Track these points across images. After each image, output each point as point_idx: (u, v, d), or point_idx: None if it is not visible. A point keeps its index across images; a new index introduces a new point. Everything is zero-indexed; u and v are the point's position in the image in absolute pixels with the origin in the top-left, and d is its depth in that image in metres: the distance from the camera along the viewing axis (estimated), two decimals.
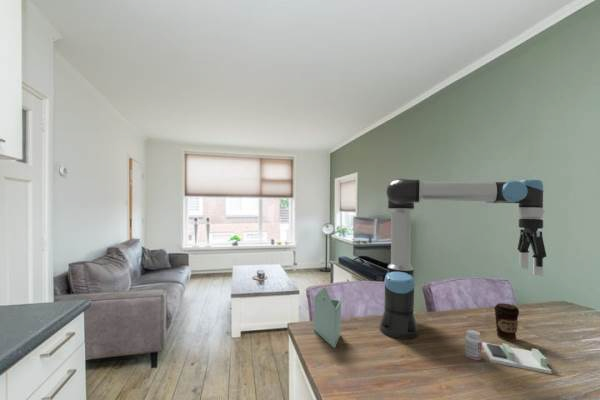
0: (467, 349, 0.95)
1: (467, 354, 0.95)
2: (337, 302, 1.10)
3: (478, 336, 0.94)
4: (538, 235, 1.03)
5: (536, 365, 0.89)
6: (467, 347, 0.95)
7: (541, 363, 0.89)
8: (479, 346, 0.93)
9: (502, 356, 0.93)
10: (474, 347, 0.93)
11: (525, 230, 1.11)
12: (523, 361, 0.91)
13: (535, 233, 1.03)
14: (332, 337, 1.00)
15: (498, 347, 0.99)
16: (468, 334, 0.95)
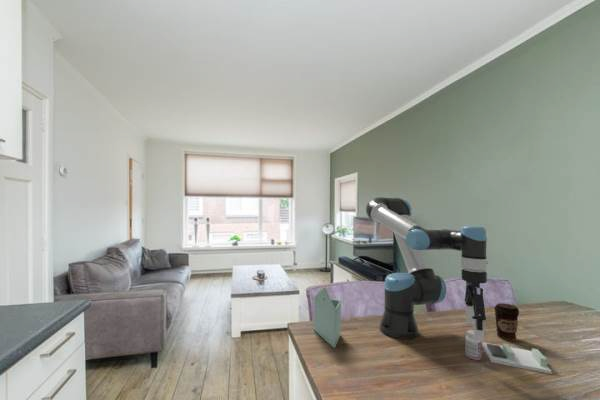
0: (467, 349, 0.95)
1: (467, 354, 0.95)
2: (337, 302, 1.10)
3: None
4: (478, 293, 0.90)
5: (536, 365, 0.89)
6: (467, 347, 0.95)
7: (541, 363, 0.89)
8: (479, 346, 0.93)
9: (502, 356, 0.93)
10: (474, 347, 0.93)
11: (469, 282, 0.98)
12: (523, 361, 0.91)
13: (475, 290, 0.90)
14: (332, 337, 1.00)
15: (498, 347, 0.99)
16: (468, 334, 0.95)
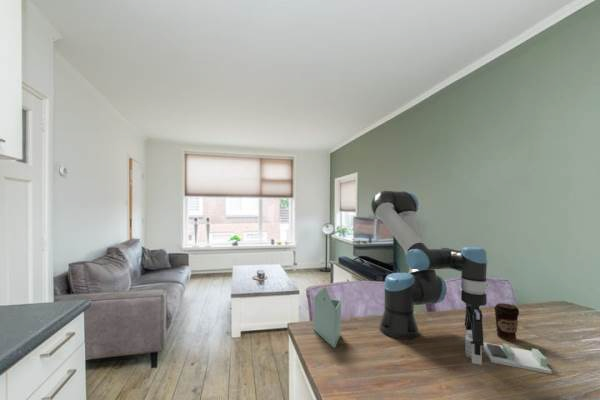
0: (467, 349, 0.95)
1: (467, 354, 0.95)
2: (337, 302, 1.10)
3: None
4: (478, 318, 0.90)
5: (536, 365, 0.89)
6: (467, 347, 0.95)
7: (541, 363, 0.89)
8: None
9: (502, 356, 0.93)
10: None
11: None
12: (523, 361, 0.91)
13: (475, 316, 0.90)
14: (332, 337, 1.00)
15: (498, 347, 0.99)
16: (468, 334, 0.95)
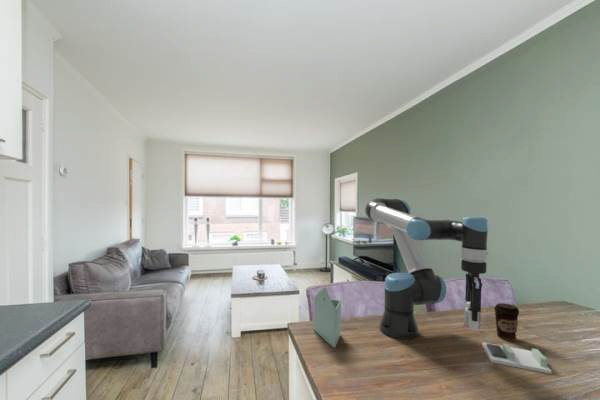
0: (466, 320, 0.96)
1: (466, 325, 0.96)
2: (337, 302, 1.10)
3: None
4: (477, 287, 0.91)
5: (536, 365, 0.89)
6: (466, 318, 0.96)
7: (541, 363, 0.89)
8: None
9: (502, 356, 0.93)
10: None
11: None
12: (523, 361, 0.91)
13: (474, 285, 0.91)
14: (332, 337, 1.00)
15: (498, 347, 0.99)
16: (467, 305, 0.96)
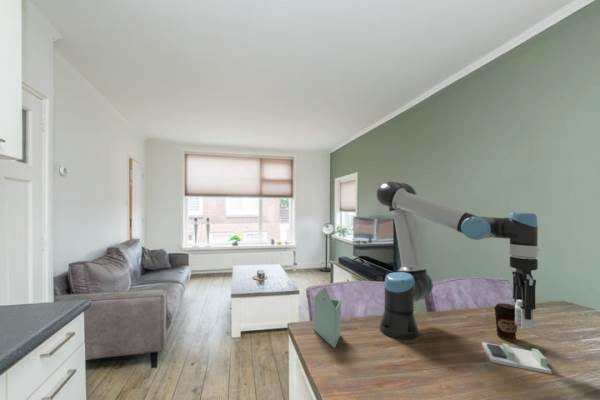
0: (518, 318, 0.93)
1: (518, 323, 0.93)
2: (337, 302, 1.10)
3: None
4: (531, 284, 0.88)
5: (536, 365, 0.89)
6: (518, 316, 0.93)
7: (541, 363, 0.89)
8: None
9: (502, 356, 0.93)
10: None
11: (517, 268, 0.97)
12: (523, 361, 0.91)
13: (527, 282, 0.89)
14: (332, 337, 1.00)
15: (498, 347, 0.99)
16: (518, 303, 0.94)
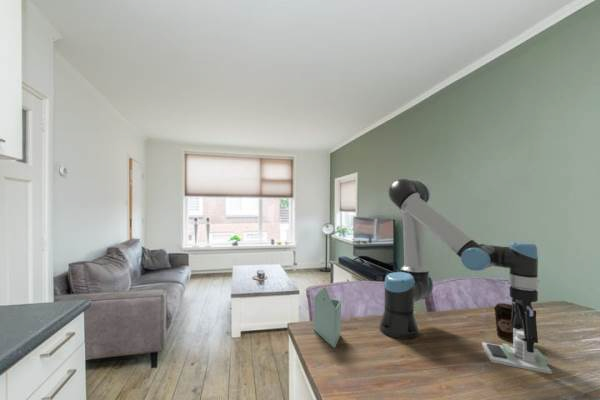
0: (517, 350, 0.93)
1: (517, 356, 0.93)
2: (337, 302, 1.10)
3: None
4: (531, 315, 0.88)
5: (536, 365, 0.89)
6: (517, 348, 0.93)
7: (541, 363, 0.89)
8: None
9: (502, 356, 0.93)
10: None
11: None
12: (523, 361, 0.91)
13: (528, 313, 0.88)
14: (332, 337, 1.00)
15: (498, 347, 0.99)
16: (518, 335, 0.93)
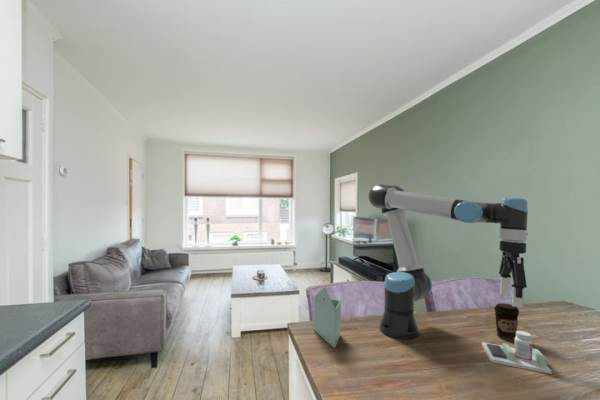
0: (517, 350, 0.93)
1: (517, 355, 0.93)
2: (337, 302, 1.10)
3: (529, 337, 0.92)
4: (519, 262, 0.91)
5: (536, 365, 0.89)
6: (517, 348, 0.93)
7: (541, 363, 0.89)
8: (530, 347, 0.91)
9: (502, 356, 0.93)
10: (526, 348, 0.91)
11: (506, 254, 1.00)
12: (523, 361, 0.91)
13: (516, 259, 0.92)
14: (332, 337, 1.00)
15: (498, 347, 0.99)
16: (518, 335, 0.93)
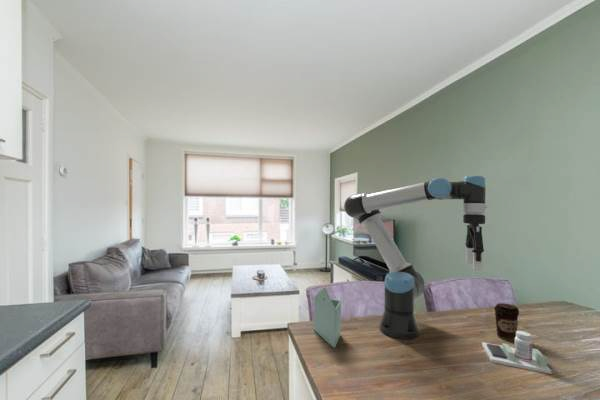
0: (517, 350, 0.93)
1: (517, 355, 0.93)
2: (337, 302, 1.10)
3: (529, 337, 0.92)
4: (478, 230, 1.04)
5: (536, 365, 0.89)
6: (517, 348, 0.93)
7: (541, 363, 0.89)
8: (530, 347, 0.91)
9: (502, 356, 0.93)
10: (526, 348, 0.91)
11: (470, 226, 1.13)
12: (523, 361, 0.91)
13: (475, 228, 1.05)
14: (332, 337, 1.00)
15: (498, 347, 0.99)
16: (518, 335, 0.93)
